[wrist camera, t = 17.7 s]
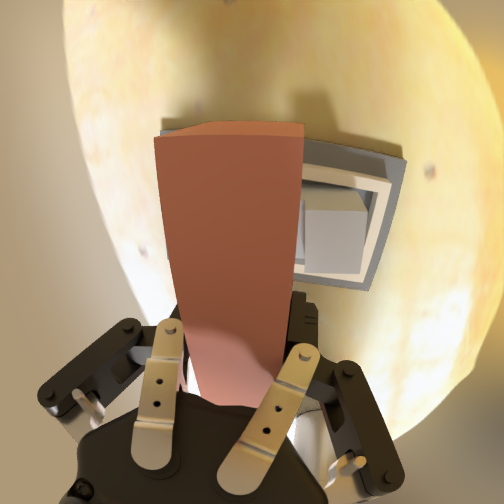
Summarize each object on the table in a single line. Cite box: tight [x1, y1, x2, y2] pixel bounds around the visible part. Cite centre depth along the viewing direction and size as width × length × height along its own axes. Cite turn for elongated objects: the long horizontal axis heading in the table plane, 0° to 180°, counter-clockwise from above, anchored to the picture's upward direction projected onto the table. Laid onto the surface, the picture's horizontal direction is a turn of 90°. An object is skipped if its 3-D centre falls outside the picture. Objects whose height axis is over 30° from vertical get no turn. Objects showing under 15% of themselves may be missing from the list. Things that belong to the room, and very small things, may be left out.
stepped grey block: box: [295, 184, 368, 274], centre depth 22 cm, size 5×14×6 cm, turn 95°
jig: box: [160, 129, 407, 291], centre depth 25 cm, size 14×22×2 cm, turn 86°
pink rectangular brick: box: [154, 121, 304, 408], centre depth 13 cm, size 18×4×5 cm, turn 0°
